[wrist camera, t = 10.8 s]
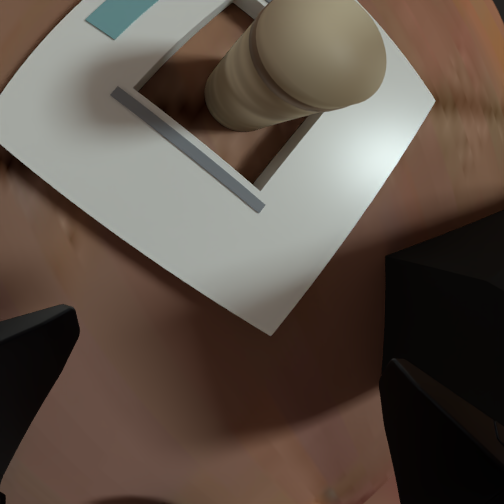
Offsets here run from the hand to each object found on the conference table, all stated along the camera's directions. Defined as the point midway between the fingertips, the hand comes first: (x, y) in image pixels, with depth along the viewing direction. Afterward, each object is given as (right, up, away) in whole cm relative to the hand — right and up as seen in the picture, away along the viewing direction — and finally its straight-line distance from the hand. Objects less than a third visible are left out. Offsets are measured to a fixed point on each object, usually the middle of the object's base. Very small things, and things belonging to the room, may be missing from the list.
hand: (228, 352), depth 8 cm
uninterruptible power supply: (+27, 0, +23) cm, 35 cm away
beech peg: (0, +12, +10) cm, 16 cm away
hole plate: (0, +13, +10) cm, 16 cm away
